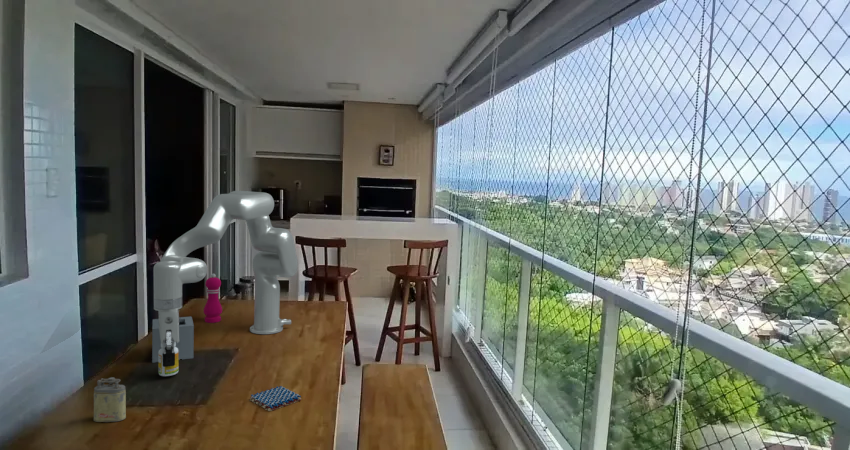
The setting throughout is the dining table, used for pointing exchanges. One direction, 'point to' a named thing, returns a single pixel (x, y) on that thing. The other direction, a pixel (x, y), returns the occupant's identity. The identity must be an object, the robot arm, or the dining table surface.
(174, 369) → the supplement bottle
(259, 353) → the dining table surface
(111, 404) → the yellow canister
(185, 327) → the box
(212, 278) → the pink bowling pin
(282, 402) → the woven mat
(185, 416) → the dining table surface
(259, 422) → the dining table surface
